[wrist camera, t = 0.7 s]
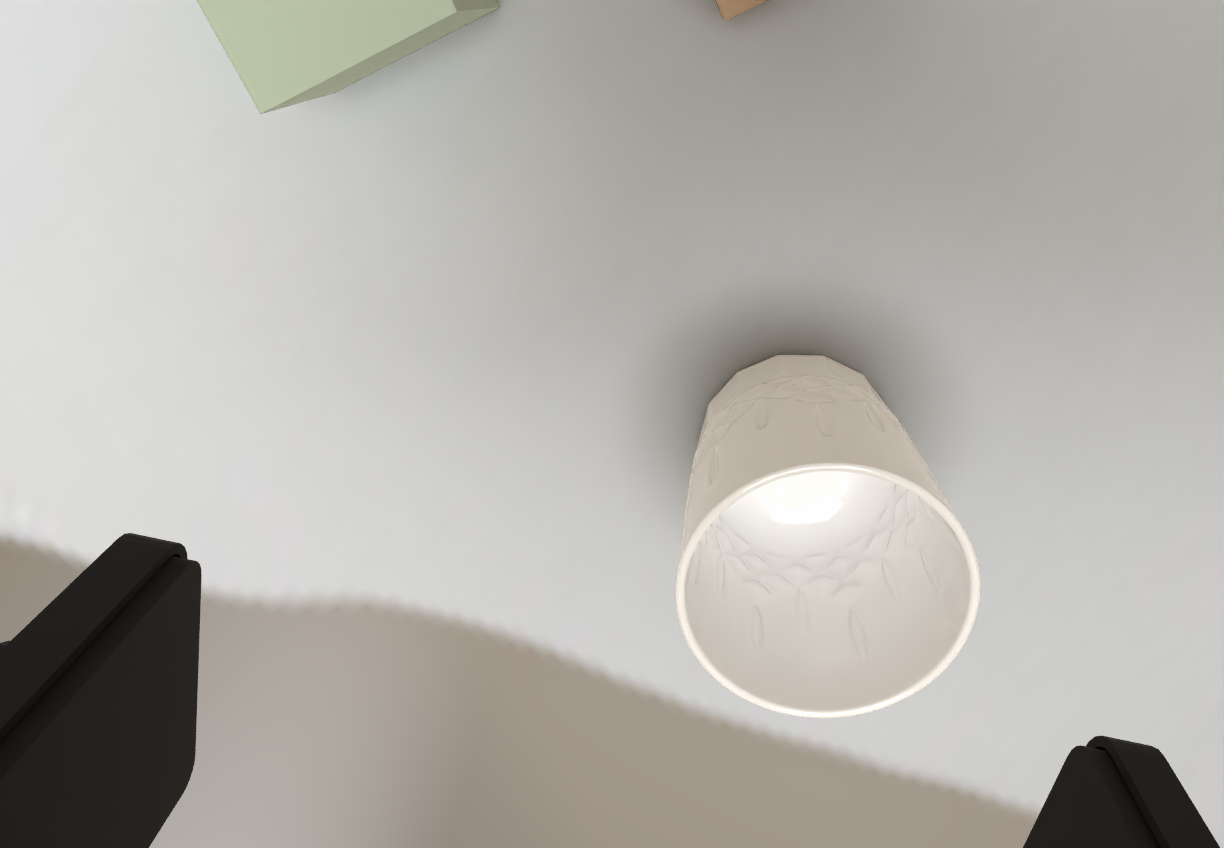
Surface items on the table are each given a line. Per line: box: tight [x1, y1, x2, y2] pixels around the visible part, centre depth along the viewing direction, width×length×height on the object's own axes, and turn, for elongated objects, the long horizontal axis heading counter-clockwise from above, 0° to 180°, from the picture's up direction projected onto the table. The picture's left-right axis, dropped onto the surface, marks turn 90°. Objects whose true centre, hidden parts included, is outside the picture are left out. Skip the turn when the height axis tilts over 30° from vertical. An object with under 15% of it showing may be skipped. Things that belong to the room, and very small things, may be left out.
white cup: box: [675, 355, 980, 718], centre depth 31 cm, size 8×8×10 cm
